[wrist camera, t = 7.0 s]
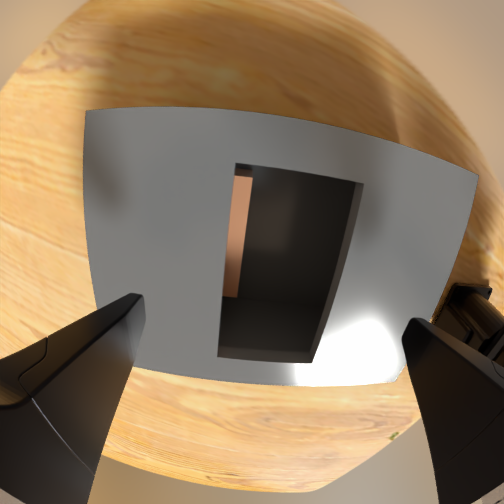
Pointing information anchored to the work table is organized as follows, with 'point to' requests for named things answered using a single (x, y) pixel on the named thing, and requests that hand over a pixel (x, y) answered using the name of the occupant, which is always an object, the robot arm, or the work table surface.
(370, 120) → the work table surface
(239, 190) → the block
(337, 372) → the box
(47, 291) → the work table surface
